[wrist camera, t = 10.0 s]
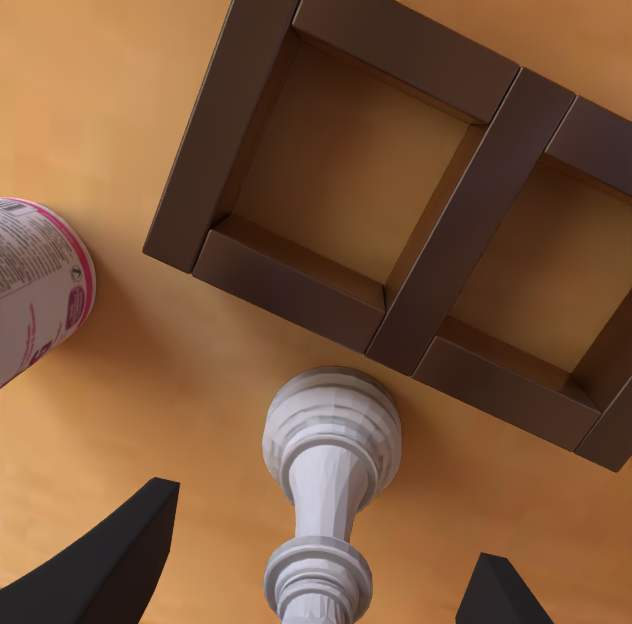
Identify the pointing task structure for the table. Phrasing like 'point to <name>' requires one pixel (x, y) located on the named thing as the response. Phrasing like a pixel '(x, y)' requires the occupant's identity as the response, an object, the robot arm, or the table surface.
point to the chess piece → (327, 489)
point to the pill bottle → (39, 284)
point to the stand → (433, 226)
